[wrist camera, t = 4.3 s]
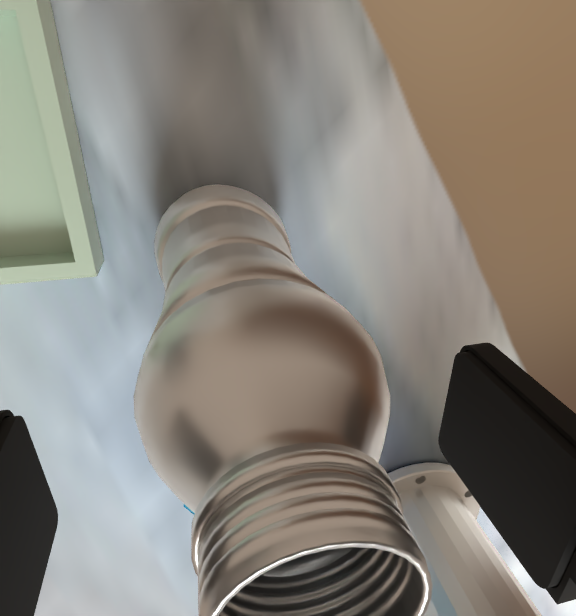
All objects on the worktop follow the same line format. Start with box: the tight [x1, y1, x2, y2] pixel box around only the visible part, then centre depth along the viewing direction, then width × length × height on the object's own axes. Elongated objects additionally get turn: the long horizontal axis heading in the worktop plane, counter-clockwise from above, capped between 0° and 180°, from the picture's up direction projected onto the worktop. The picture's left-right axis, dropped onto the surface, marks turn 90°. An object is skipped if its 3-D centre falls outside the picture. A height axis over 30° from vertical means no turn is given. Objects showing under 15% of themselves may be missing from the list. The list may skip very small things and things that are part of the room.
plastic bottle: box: [134, 184, 433, 616], centre depth 15 cm, size 6×7×20 cm
